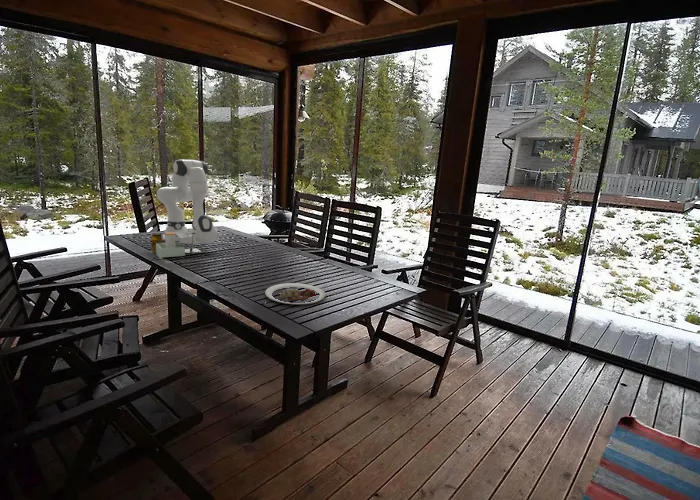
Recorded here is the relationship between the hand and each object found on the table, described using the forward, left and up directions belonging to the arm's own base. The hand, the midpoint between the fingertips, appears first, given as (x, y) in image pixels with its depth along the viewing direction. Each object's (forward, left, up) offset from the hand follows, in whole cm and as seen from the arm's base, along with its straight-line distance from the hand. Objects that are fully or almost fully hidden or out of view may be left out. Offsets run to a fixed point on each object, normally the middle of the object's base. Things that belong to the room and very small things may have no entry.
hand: (168, 237), depth 243 cm
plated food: (+94, +40, -12) cm, 103 cm away
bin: (0, +1, -12) cm, 12 cm away
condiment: (-13, -4, -12) cm, 18 cm away
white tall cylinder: (0, +1, -11) cm, 11 cm away
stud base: (-5, +15, -12) cm, 20 cm away
